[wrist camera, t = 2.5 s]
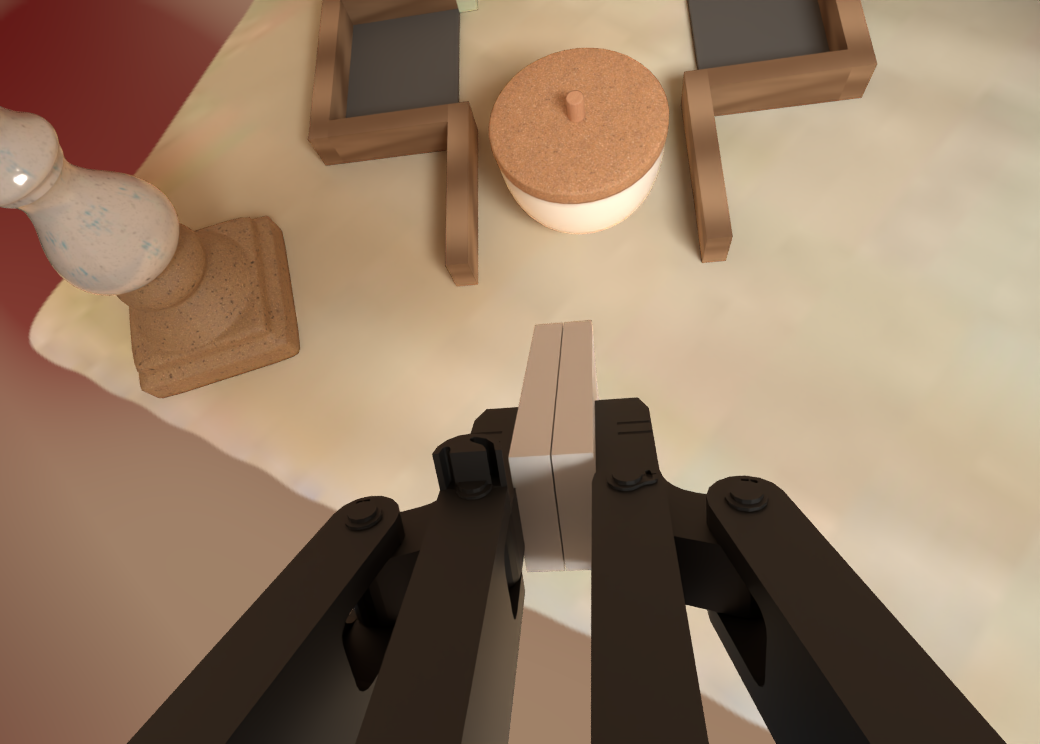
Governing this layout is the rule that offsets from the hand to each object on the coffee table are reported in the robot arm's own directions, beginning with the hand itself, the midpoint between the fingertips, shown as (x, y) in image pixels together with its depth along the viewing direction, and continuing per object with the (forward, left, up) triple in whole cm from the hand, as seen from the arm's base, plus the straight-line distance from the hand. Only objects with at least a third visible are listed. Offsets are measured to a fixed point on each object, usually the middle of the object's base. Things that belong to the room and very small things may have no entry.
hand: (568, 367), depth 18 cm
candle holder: (+30, +1, -22) cm, 38 cm away
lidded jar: (+10, -18, -22) cm, 31 cm away
